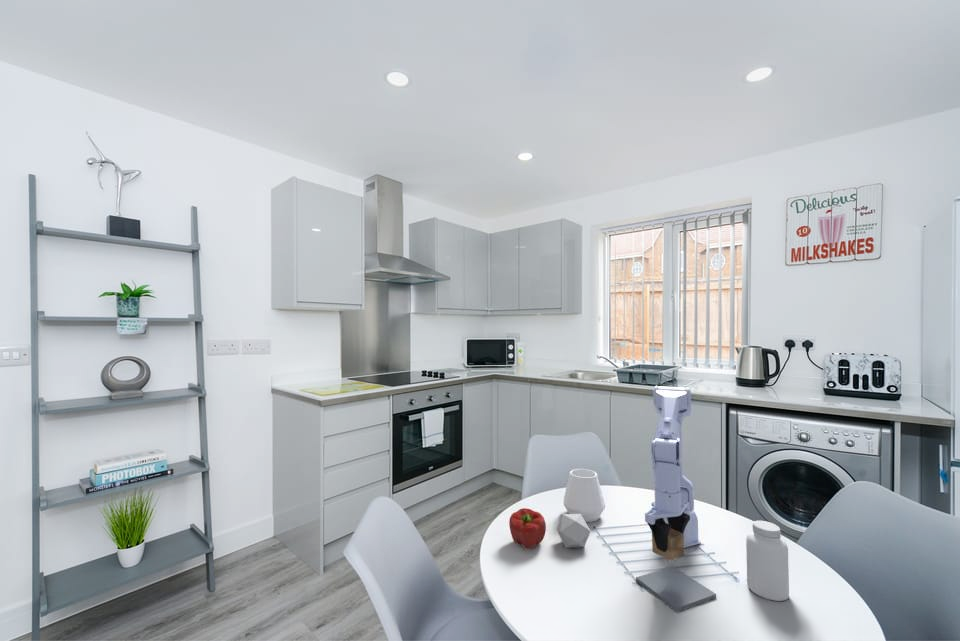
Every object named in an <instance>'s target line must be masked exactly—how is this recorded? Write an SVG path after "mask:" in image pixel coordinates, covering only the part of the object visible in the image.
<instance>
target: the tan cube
mask: <svg viewBox="0 0 960 641" xmlns="http://www.w3.org/2000/svg"><path fill="white" fill-rule="evenodd" d="M651 545H652V546H651V548H652V552H653V553H655V554H656V555H659V556H660V557H662V558H664V559H666V560H668V561H670V562H673V561H675V560H677V559H679V558H681V557H684V556H685V548H684V534H683V533H681V532H679V531H676V530H674V529H672V528H670V531H669V534H668V542H667V550H666V552H663V551H661V550H659V549H657V546H656V543H655V539H654V536H653V533H652V532H651Z"/></svg>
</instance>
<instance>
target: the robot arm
mask: <svg viewBox="0 0 960 641" xmlns="http://www.w3.org/2000/svg"><path fill="white" fill-rule="evenodd" d="M691 392H692V390H691V388H690V387H688V386H686V387H682V386H681V387H678V386H661V385H660V386H659V385H655V386H654V387H653V391H652V394H653V395H652V397H653V398H652V399H653V406H654V409H655V411H656V413H657V414H658V415H661V418H660V419H658V420H657V422H656V425H655V426H656V428H655V434H654V439H652V440H651V442H650V456H651V461H652V470H653V473H654V474H653V479H654V481H653V482H654V483H653V484H654V501H653V502H651V504H650V505H651V508H650V509H649V510H648V511H647V512H644V522H646V524H647V525H648V527H649V528H650V530H651V534H652V533H653V536H654V539H655V543H656V546H657V549H659V550H661V551H663V552H666V550H667V542H668V534H669V531H670V528H672V529H674V530H676V531H679V532H681V533H683V534H684V549H686V548H688V547H689V548H690V547H693V546H695V545H699V544H701V543H702V541H701V540H699V520H698V515H697V514H696V512H695V511H694V510H695V494H694V493H695V492H694V485H693V482H692V481H691V480H690V479H688V478H687V477H686V476H685V475H683V437H682V436H683V434H682V423H683V420H684V418H686V417H689V416H691V412H692V397H691V396H692V393H691Z"/></svg>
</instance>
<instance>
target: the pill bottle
mask: <svg viewBox="0 0 960 641" xmlns="http://www.w3.org/2000/svg"><path fill="white" fill-rule="evenodd" d="M781 532H782V531H781V528H780V527H779V525H777V524H775V523H773V522H769V521H765V520H754V521H753V522H752V531H751V532H749V533H748V534H747V535H746V538H745V539H746V540H745V541H746V543H745V545H746V547H745V548H746V582H747V583H746V584H747V586H748V588H749V590H751V592H753V593H754V594H756V595H758V596H760V597H762V598H764V599H767V600H770V601H774V602H775V601H776V602H782V601H786V600H788V599H789V596H790V577H789V572H790V571H789V570H790V569H789V547H788V545H787V543H786V542H785V540H784V539H782V538H781Z"/></svg>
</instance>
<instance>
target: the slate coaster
mask: <svg viewBox="0 0 960 641" xmlns="http://www.w3.org/2000/svg"><path fill="white" fill-rule="evenodd" d="M635 581H636V582H637V583H638V584H640V586H642V587H644V588H645V589H646V590H648V591H649V592H650V593H651V594H653V595H654V596H655V597H656V598H658V599H659V600H660V601H662V602H663V603H665V604H666V605H667V606H668V607H670V608H671V609H672V610H674V611H675V612H676V613H679V612H681V611H683V610H686V609H688V608H692V607H694V606H697V605H700V604H703V603H705V602H709V601H710V600H713V599H716V598H717V593H716V592H714V591H712V590H710V588H707V587H706V586H705V585H703V584H702V583H700V582H699V581H697V580H695V579H694V578H692V577H690V576H689V575H687V574H686V573H685V572H683V571H682V570H680V569H678V568H677V567H675V566H673V565H672V566H669V567H666V568H662V569H658V570H656V571H652V572H648V573H646V574H641V575H639V576H636V577H635Z"/></svg>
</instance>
